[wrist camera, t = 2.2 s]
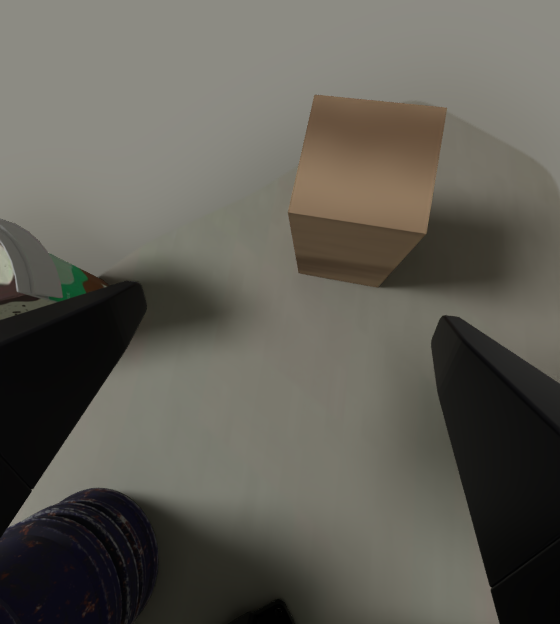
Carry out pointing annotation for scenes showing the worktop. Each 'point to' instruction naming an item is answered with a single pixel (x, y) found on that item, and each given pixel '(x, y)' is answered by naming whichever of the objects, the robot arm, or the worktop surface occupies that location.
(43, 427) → the robot arm
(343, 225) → the tan rectangular block
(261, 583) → the worktop surface
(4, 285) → the food container
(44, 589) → the storage jar
